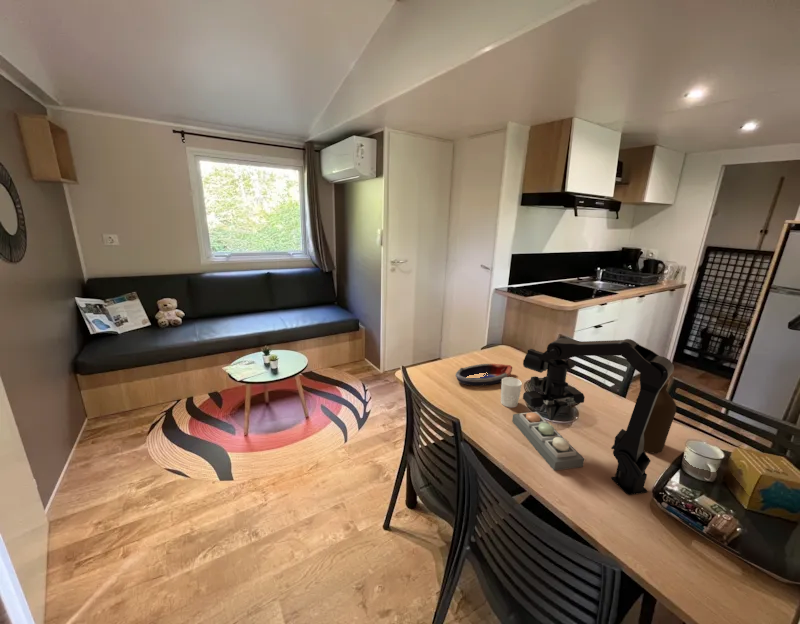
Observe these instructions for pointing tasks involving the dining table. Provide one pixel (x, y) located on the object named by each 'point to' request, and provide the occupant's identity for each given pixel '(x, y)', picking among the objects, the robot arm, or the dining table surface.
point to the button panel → (547, 444)
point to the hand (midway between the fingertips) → (550, 419)
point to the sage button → (546, 429)
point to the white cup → (510, 391)
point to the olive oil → (659, 422)
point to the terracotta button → (532, 417)
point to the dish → (494, 374)
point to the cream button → (560, 444)
